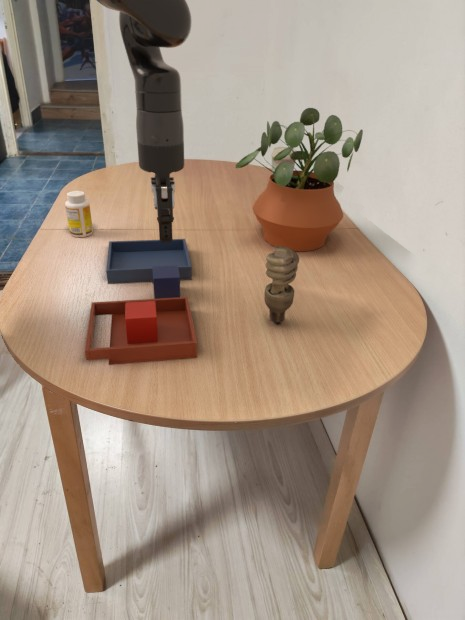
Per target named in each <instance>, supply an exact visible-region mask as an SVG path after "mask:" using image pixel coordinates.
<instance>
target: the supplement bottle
mask: <svg viewBox="0 0 465 620" xmlns="http://www.w3.org/2000/svg"><path fill="white" fill-rule="evenodd" d="M66 199H67V200H66V201H65V202H64V206H65V207H64V208H65V213H66V218H67V226H68V231H69V234H70V235H71V236H72V237H75V238H85V237H89V236H91V235H92V234H93V232H94V227H93V220H92V219H93V218H92V213H91V212H92V211H91V205H90V201H89V200H88V199H86V194H85V192H84V191H82V190H72V191H68V192H67V193H66Z"/></svg>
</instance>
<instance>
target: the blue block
mask: <svg viewBox="0 0 465 620" xmlns="http://www.w3.org/2000/svg"><path fill="white" fill-rule="evenodd" d="M152 271H153V281H152V285H153V286H152V288H153V299H159V298H177V297H181V280H180V275H179V270H178V265H176V266H154V267H152Z"/></svg>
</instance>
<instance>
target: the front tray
mask: <svg viewBox="0 0 465 620" xmlns="http://www.w3.org/2000/svg"><path fill="white" fill-rule="evenodd" d="M145 301H155V303H156V316H157V334H158V341H156V342H142V343H127V334H126V324H125V303H127V302H145ZM106 315H109V316H110V315H111V319H110V320H111V321H110V322H111V323H110V336H109V339H110V340H109V346H107V347H94V348H93V342H94V340H93V339H94V333H95V325H96V316H106ZM88 319H89V320H88V327H87V334H86V340H85V346H84V347H85V348H84V354H85V360H86V361H94V360H106V359H108V365H119V364H120V365H121V364H131V363H143V362H154V361H155V362H156V361H168V360H180V359H191V358H193V359H194V358H197V357H198V341H197V336H196V335H197V334H196V331H195V326H194V325H195V324H194V320H193V316H192V310H191V306H190V301H189V296H180V297H177V298H159V299H154V298H145V299H144V298H143V299H127V300H111V301H92V302H91V305H90V312H89V318H88Z"/></svg>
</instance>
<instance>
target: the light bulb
mask: <svg viewBox="0 0 465 620" xmlns="http://www.w3.org/2000/svg"><path fill="white" fill-rule="evenodd" d="M265 260H266V263H265V268H266V271H265V275H266V276H267V277H268V278H269V279H271V282H270V283H269V284H266V286H265V287H264V294H263V295H264V299H263V300H264V303H265V305H266V307H267V308H268V310H269V311H268V312H269V314H268V315H269V321H270V322H273V323H274V324H275V325H280V324H281V323H283V322H284V321H285V319H286V316H285V315H286V312H287V310H288V309H290V308H291V307H292V305H293V302H294V297H295V289H294V287H293V286H292V285H291V283H293V282H294V281H295V279H296V277H297V271H298V267H299V266H298V265H299V262H300V256H299V254H298V253H297V251H294V250H292V249H290V248H287V247H282V246H278V247H275V246H274V248H273V252H270V253H268V254H267V255H266V257H265Z"/></svg>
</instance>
